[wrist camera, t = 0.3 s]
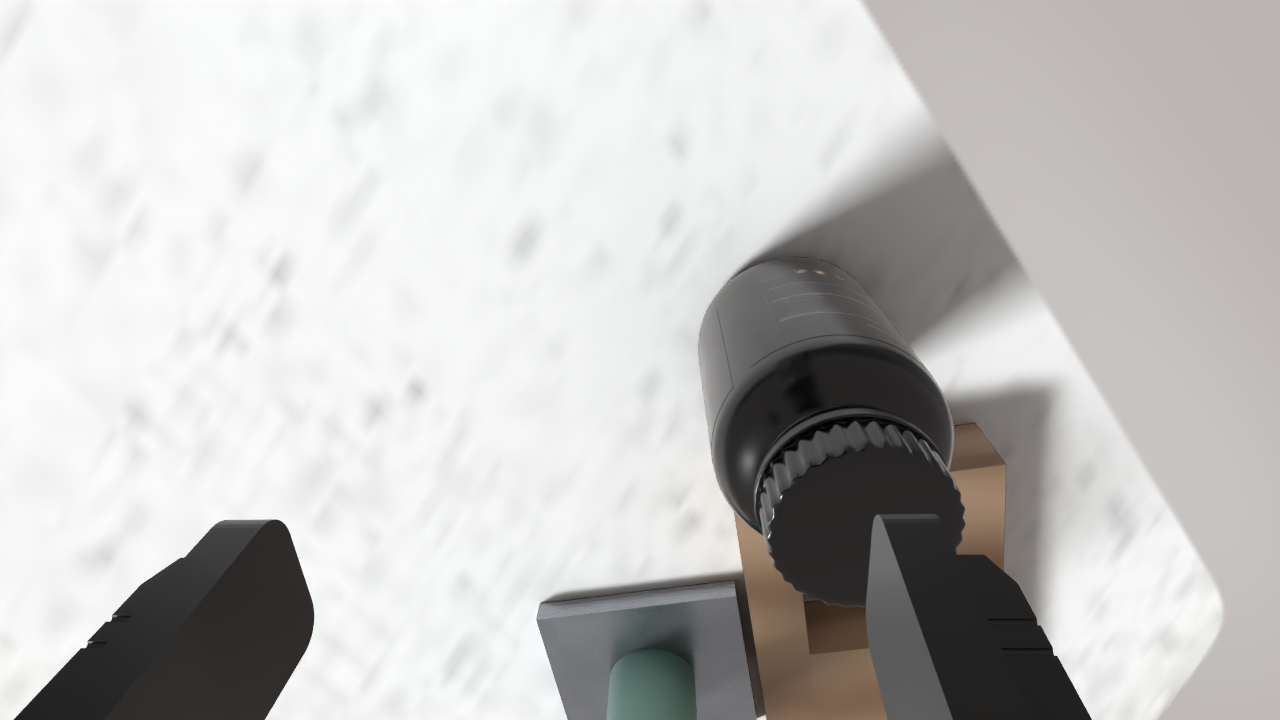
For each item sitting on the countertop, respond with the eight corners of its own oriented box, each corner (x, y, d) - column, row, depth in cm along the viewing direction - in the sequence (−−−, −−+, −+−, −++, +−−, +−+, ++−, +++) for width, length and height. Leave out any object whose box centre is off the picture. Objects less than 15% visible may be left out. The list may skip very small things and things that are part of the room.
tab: (539, 603, 35) (536, 619, 34) (733, 580, 34) (736, 596, 33) (580, 737, 39) (578, 755, 38) (756, 719, 38) (759, 736, 37)
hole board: (726, 457, 31) (732, 503, 28) (975, 423, 30) (1008, 467, 27) (780, 802, 40) (789, 864, 37) (972, 785, 39) (997, 847, 36)
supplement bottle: (851, 425, 30) (955, 659, 20) (683, 402, 30) (695, 626, 19) (900, 264, 28) (1055, 433, 17) (715, 236, 27) (750, 391, 16)
